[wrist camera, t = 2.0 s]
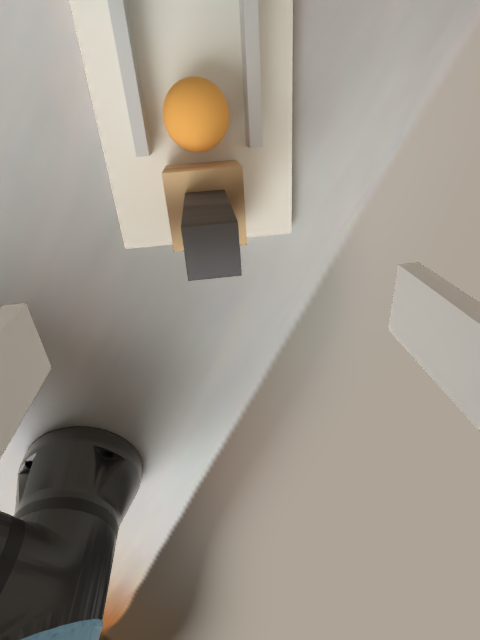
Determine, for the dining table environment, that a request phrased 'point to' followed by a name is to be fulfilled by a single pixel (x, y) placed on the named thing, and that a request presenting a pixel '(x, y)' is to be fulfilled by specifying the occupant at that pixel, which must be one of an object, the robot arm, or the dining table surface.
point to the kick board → (168, 68)
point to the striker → (207, 216)
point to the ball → (195, 114)
